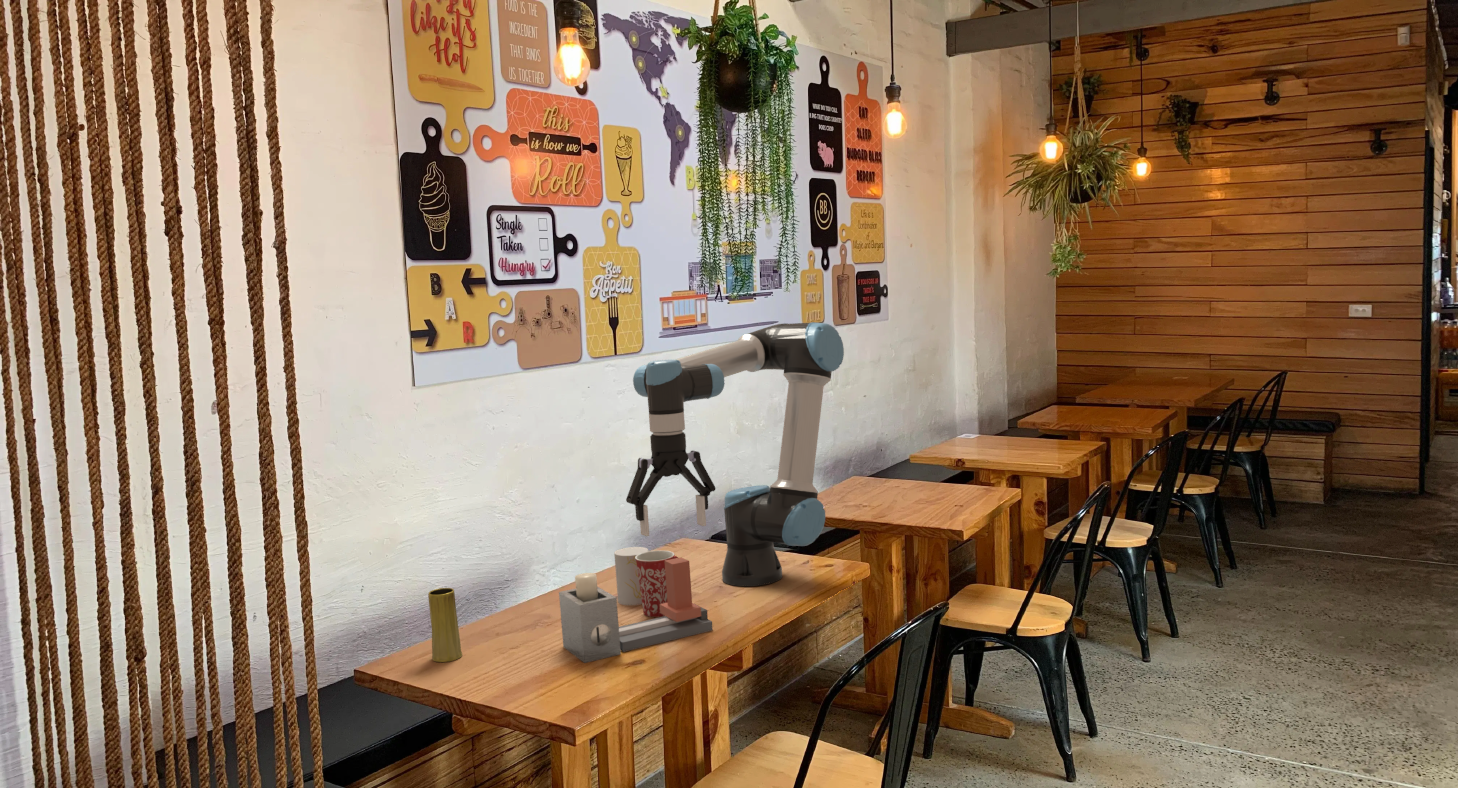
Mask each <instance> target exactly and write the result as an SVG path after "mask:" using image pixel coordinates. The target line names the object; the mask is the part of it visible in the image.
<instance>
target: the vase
mask: <svg viewBox="0 0 1458 788" xmlns="http://www.w3.org/2000/svg"><path fill="white" fill-rule="evenodd" d="M455 595H456V594H455V589H454V588H452V587H441V588H440V587H439V588H436V589H432V590H430V591H429V592H428V594H427V596H428V607H429V617H430V626H431V650H432V651H431V655H432V657H431V658H432V661H433V662H436V663H450V662H454V661H456V660H459V659H461V658H462V656H463V652H462V646H461V638H460V630H459V629H460V628H459V624H458V623H459V621H458V614H457V613H458V612H457V608H456V607H457V605H456V596H455Z"/></svg>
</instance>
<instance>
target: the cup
mask: <svg viewBox="0 0 1458 788" xmlns="http://www.w3.org/2000/svg"><path fill="white" fill-rule="evenodd" d="M648 551H649V548H647V547H645V546H644V547H643V546H631V547H624V548H619V549H617V550H615V551H614V565H615V577H616V578H615V581H616V592H617V604H619V605H623V606H639V605H642V599H641V592H640V584H639V578H638V571H637V563H636V559H635V557H636V556H637V555H638V554H641V553H644V552H648Z"/></svg>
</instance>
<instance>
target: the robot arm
mask: <svg viewBox="0 0 1458 788" xmlns="http://www.w3.org/2000/svg"><path fill="white" fill-rule="evenodd" d="M839 334H840V333H839V332H838V330H837V329H836V328H835V327H834V326H833V325H832V324H828V323H825V322H814V321H811V322H799V323H798V322H797V323H778V324H773V325H770V326H767V327H764V328H761V329H758V330H755V331H752V332H751V331H750V332H749V333H745V334H743V335H741V336H739V337H738V339H737V340H736V341H734V342H729V343H725V344H722V345H719V346H716V347H715V346H714V347H713V348H712V347H711V348H709V349H705V350H703V351H698V352H695V353H692V354H690V355H685V356H683V357H679V358H675V359H657V360H650V362H648V363H647V364H644V365H640V366H639V367H638V368H637V369H636V370H635V372H634V374H633V376H632V382H633V387H634V390H635V392H636V393H637V394H638V395H640V396H641V397H644V398H647V406H648V407H647V408H648V419H649V432H651V435H650V436H649V437H650V440H649V441H650V451H651V456H650V458H643V457H639V458H638V459H637V469H636V471H635V474H634V478H633V479H632V483H631V486H630V488H629V491H628V493H627V496H626V498H625V502H626V503H628V504H630V505H634V507H635V518H636V521H639V525H640V535H642V536H644V537H650V524H649V523H650V522H649V510H648V505H647V504H645V503H646V502H647V500H648V499H649V497H650V495H651V494H652V492H653V490H654V489H655V487H656V486H657V484H658V483H659V481H660V480H661V479H662V478H663V477H665V478H668V477H670V476H680V475H682V477H683V478H684V479H685V480H686V481H687V482H688V484H690V485H691V486H692V488H693V489H694V490H696V491H697V492H698V494H695V505H696V506H695V507H696V509H695V510H696V522H697V523H696V524H697V526H702V527H706V526H707V521H706V520H707V518H706V517H707V516H706V511H707V510H708V509H709V498H708V497H709V496H710V495H711V493H712V492H715V491H716V486H715V484H714V482H713V480H712V479H711V476H710V474H709V473H708V471H707V469H706V468H705V465H704V464H703V462H702V459H701V458H702V457H701V453H700V451H697V450H690V451H689V452H687V440H686V438H687V436H686V433H685V432H684V431H685V429H686V424H685V423H686V422H685V412H684V411H685V408H684V407H685V405H684V403H686V402H692V401H697V400H705V399H706V400H709V399H711V398H713V397H714V398H715V397H718V396H719V395H721V393H722V392H723V390H724V389H725V388H724V387H725V381H726V380H725V378H727V377H730V376H733V375H735V374H739V373H742V372H745V371H747V372H749V373H756V372H759V371H763V370H778V371H783V374H782V375H783V376H784V378H785V379H786V380H787V382H788V387H787V396H786V403H785V412H784V421H783V427H782V429H783V430H782V437H781V447H780V455H779V463H778V472H777V479H776V480H775V481H774V482H773V483H772V484H771V485H767V484H764V485H762V484H759V485H758V484H757V485H751V486H744V487H739V488H735V489H732V490H730V491H728V492H726V494H725V495H724V507H723V510H724V521H725V522H724V523H725V532H726V533H725V535H726V547H727V548H726V549H727V550H726V552H725V553H726V555H725V557H724V561H723V565H722V569H721V578H722V579H721V580H722V581H723V583H725V584H727V585H731V586H737V587H753V586H754V587H756V586H764V585H770V584H773V583H776V582H778V581H780V580H781V579H782V578H783V570H782V569H783V568H782V565H781V563H780V560H779V557H778V554H777V552H776V550H775V546H774V545H775V544H774V543H777V544H783V545H787V546H790V547H791V546H792V547H794V546H798V547H805V546H809V545H811V544H812V543H814V542H815V541H816V540H817V539H819V536H820V535H821V533H822V531H823V529H824V526H825V523H826V510H825V508H824V505H823V503H822V501H820V500H819V499H818V493H819V492H818V489H817V488H816V487H815V486H814V474H815V468H816V467H815V466H816V456H817V449H818V448H817V447H818V440H819V430H820V421H821V412H822V404H823V395H824V387H825V386H826V385H827V384H828V383H829V382H831V381H832V372H835V371H836V370H837V369H839V368H840V365H842V363H843V360H844V356H845V351H844V350H845V348H844V343H843V340H842V337H841V336H840V335H839ZM688 461H690V462H691V464H692V466H693V468H694V469H695V471H696V473H697V476H698V477H699V479H700V480H699V479H697V477H696V476H695V475H694V474H693V473H692V472H691V470H690V469H689V468H688V467H687V466H686V463H687V462H688ZM651 466H652V468H653V469H652V470H651V472H650V474H649V476H648V478H647V480H646V482H645V483H644V481H645V479H646V475H647V473H648V469H650V467H651ZM643 483H644V485H643Z"/></svg>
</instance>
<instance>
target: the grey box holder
mask: <svg viewBox="0 0 1458 788" xmlns="http://www.w3.org/2000/svg"><path fill="white" fill-rule="evenodd" d="M597 589H598V599H597V600H592V601H587V602H582V601H581V600H579V599H578V598H577V595H576V588H571V589H567V590H562V591H559V592H558V597H559V608H560V620H561V621H560V623H561V634H562V636H561V637H562V645H563V646H562V647H563V648H564V649H565V650H566V651H568V652H569V653H571V654H572V655H573V656H574V657H576V658H577V659H578V660H579V661H581V662H582V663H584V664H587V663H590V662H595V661H598V660H604V659H609V658H611V657H617V656H619V655H621V654H622V653H621V650H620V637H619V627H620V625H619V614H618V612H619V611H618V597H617V596H614V595H613V594H612V593H609V592H608V591H606V590H604V589H603V588H601V587H599V586H597Z"/></svg>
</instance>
